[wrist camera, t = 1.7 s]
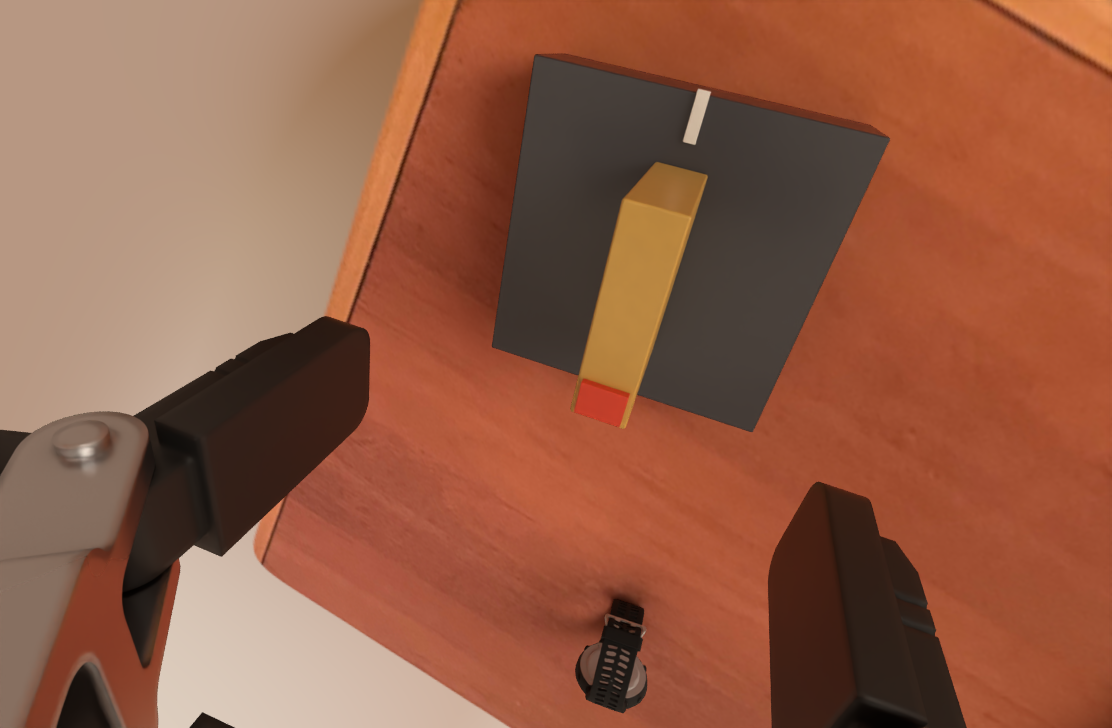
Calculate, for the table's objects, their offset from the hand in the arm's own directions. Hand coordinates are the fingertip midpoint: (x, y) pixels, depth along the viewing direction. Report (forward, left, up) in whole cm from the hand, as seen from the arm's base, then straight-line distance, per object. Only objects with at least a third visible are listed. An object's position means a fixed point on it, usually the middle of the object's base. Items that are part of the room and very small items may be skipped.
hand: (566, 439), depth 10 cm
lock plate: (0, 0, -13) cm, 13 cm away
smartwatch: (+20, +4, -13) cm, 24 cm away
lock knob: (0, 0, -10) cm, 10 cm away
